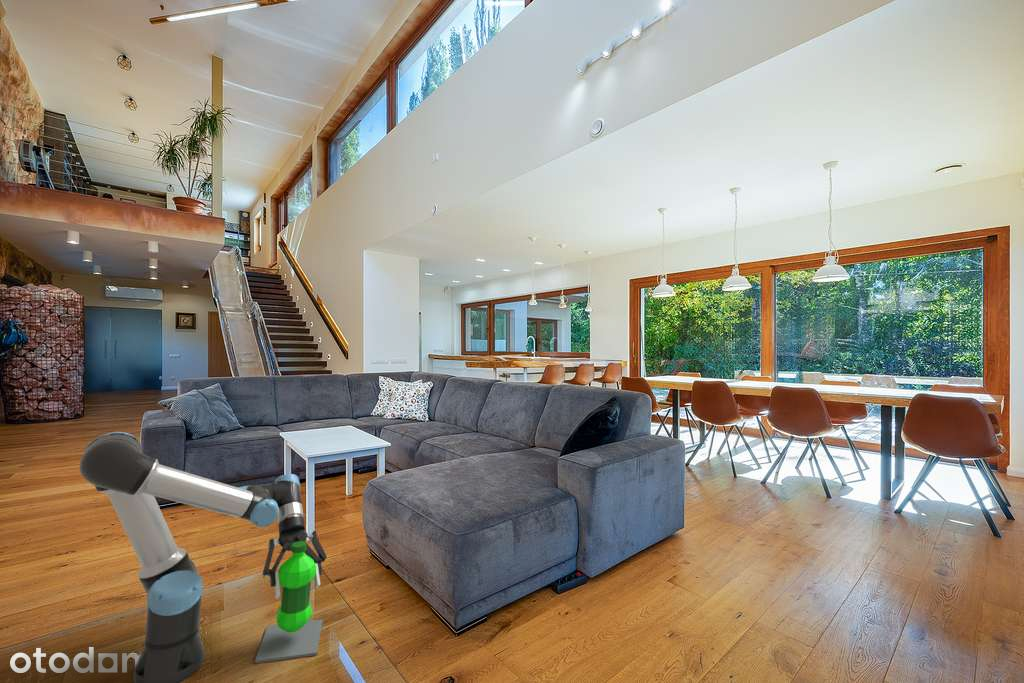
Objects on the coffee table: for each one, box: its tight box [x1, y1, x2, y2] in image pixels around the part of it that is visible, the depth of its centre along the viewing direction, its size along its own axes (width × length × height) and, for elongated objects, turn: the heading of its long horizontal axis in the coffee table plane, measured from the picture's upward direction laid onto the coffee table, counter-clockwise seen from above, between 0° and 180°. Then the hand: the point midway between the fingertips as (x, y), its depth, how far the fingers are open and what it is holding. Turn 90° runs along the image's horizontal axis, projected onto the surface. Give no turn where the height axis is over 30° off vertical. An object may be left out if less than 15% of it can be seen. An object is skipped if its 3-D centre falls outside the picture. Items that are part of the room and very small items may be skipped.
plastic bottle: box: [275, 540, 316, 633], centre depth 133 cm, size 10×10×25 cm
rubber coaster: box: [254, 618, 324, 664], centre depth 132 cm, size 16×16×1 cm
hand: (298, 591), depth 131 cm, fingers closed on plastic bottle, 10 cm apart
